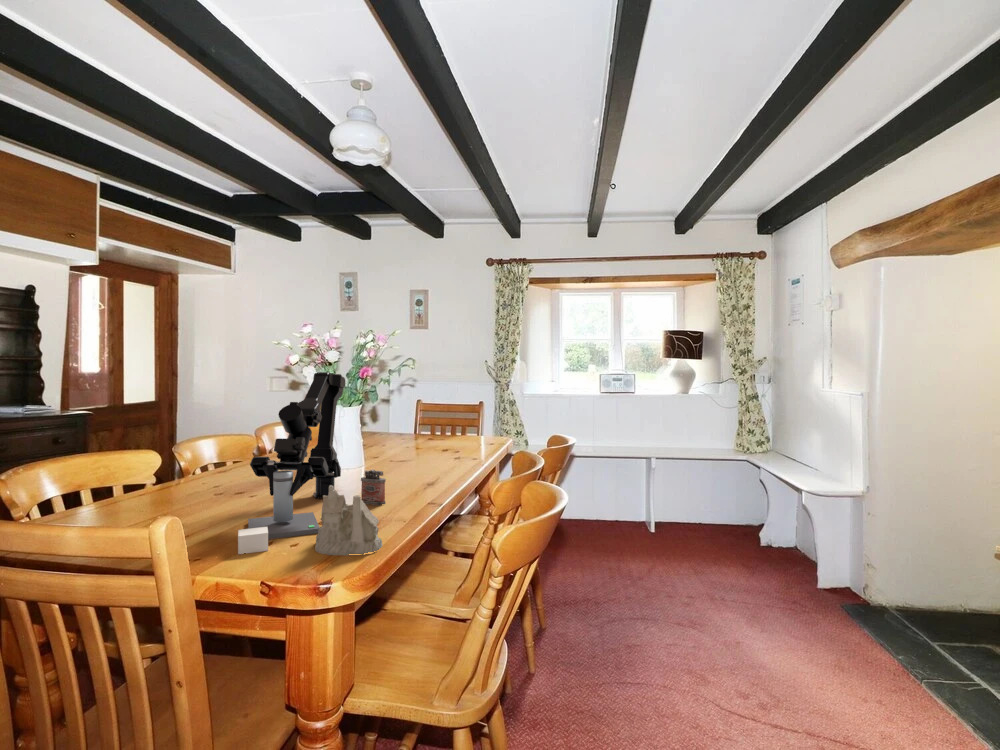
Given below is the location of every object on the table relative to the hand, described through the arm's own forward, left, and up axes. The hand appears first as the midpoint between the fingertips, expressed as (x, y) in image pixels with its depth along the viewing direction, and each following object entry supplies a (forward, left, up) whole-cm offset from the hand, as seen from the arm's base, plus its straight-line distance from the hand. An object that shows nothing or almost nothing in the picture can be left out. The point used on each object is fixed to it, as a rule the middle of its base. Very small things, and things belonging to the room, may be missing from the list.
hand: (281, 494), depth 134 cm
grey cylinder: (-1, +1, -7) cm, 7 cm away
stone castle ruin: (+18, +14, -9) cm, 25 cm away
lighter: (-17, +27, -9) cm, 33 cm away
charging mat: (+3, 0, -9) cm, 9 cm away
